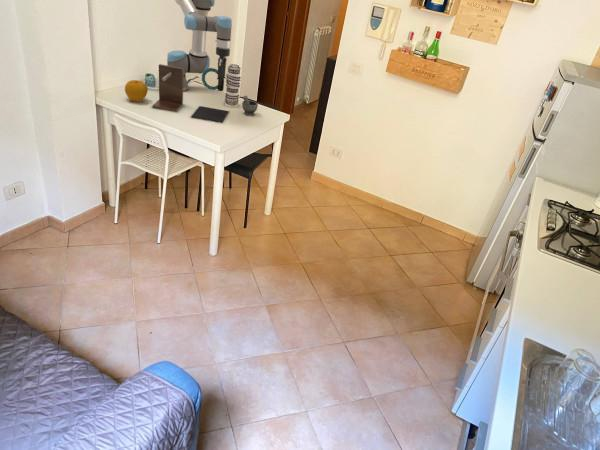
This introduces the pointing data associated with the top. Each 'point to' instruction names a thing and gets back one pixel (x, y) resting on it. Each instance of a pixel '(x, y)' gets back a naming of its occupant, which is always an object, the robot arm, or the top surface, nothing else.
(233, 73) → the decorative candle
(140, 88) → the apple
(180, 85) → the hook board
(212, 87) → the ring
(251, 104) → the mortar and pestle
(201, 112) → the mat
